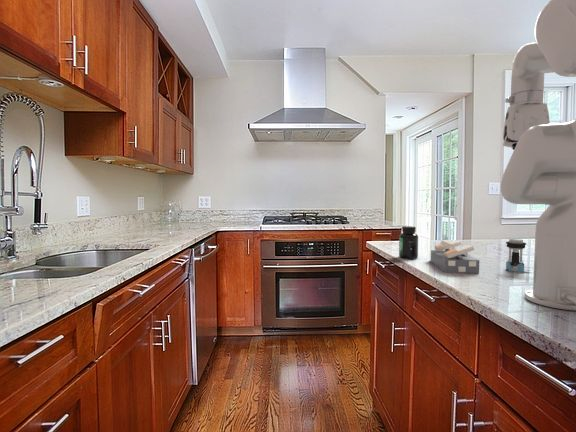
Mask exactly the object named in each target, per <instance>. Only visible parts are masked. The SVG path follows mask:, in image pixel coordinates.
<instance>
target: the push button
mask: <svg viewBox="0 0 576 432" xmlns="http://www.w3.org/2000/svg"><path fill="white" fill-rule="evenodd" d="M505 244H506V248H508V259H507V261H506V263H505V264H506V265H505V270H506V271H507V272H519V273H524V272H525V271H526V269H525V268H528V269H527V271H530V272H531V266H525V263H524V260H523V254H524V253H523V252H524V251H523V249H525V248H526V245H527V243H526V242H524V240H523V239H520V238H509V241H506V242H505Z"/></svg>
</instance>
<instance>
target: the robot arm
mask: <svg viewBox="0 0 576 432" xmlns="http://www.w3.org/2000/svg"><path fill="white" fill-rule="evenodd" d="M534 38H535V41H536V42H530V43H526V44H524V45H522V46H521V47H520V48H519V49H518V51H516V53H515V55H514V59H513V60H512V62H511V75H510V78H511V79H510V96H508V97H505V100H504V102H505V103H506V104H507V103H508V104H509V106H508V107H507V110H506V114H505V118H504V123H503V133H502V138H503V139H502V140H503V143H502V145H503V147H505V148H506V147H507V148H511V149H512V150H513V152H512V153H511V156H510V157H509V158H510V159H509V161H508V163H507V165H506V168H505V169H504V171H503V175H502V178H501V181H500V194H501V196H502V197H503V199H504V200H505V201H507V202H508V203H510V204H513V205H514V204H515V205H548V206H547V208H545V210H544V211H543V212H542V213H541V215H540V216H539V218H538V219H537V221H536V223H535V236H534V254H533V255H534V257H533V259H534V261H533V280H532V282H533V283H532V289H528V290H525V292H524V298H525V299H526V300H527V301H529V302H532V303H534V304H537V305H540V306H542V307H543V306H544V307H549V308H553V309H558V310H565V311H576V118H575V119H574V120H572V121H569V122H563V123H551V122H550V113H549V108H548V103H546V102H544V91H545V88H544V87H545V74H549V73H550V74H551V73H555V74H556V75H558V76H560V77H566V78H576V0H549V1H548V2H547V3H546V4H545V5H544V6H543V8H542V9H541V10H540V12H539V14H538V16H537V19H536V22H535V26H534Z"/></svg>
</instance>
